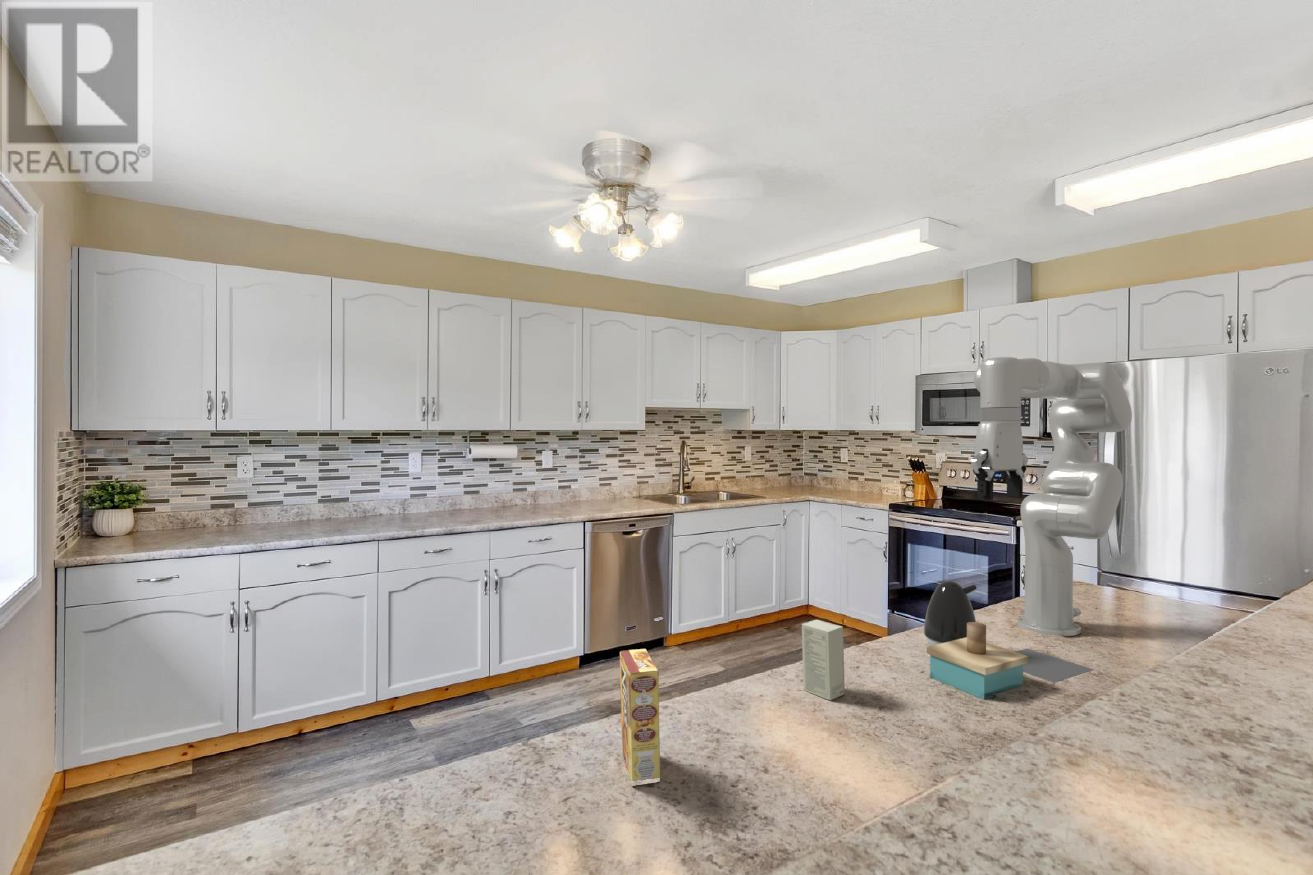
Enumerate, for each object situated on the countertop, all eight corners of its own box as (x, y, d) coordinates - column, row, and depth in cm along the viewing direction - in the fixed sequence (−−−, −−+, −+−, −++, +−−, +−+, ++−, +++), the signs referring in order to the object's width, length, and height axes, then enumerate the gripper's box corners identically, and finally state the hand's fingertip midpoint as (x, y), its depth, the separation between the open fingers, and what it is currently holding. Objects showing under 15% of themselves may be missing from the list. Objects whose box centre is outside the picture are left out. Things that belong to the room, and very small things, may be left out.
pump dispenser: (988, 662, 126) (988, 587, 126) (936, 662, 126) (936, 587, 126) (964, 645, 136) (964, 575, 136) (916, 644, 136) (916, 575, 136)
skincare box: (845, 695, 111) (845, 627, 111) (829, 701, 108) (829, 632, 108) (816, 683, 116) (816, 618, 116) (801, 689, 113) (800, 623, 113)
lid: (968, 642, 124) (968, 611, 124) (1028, 662, 114) (1028, 628, 114) (926, 653, 119) (926, 620, 119) (985, 675, 108) (985, 639, 108)
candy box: (661, 784, 84) (661, 670, 83) (630, 788, 83) (629, 673, 83) (647, 750, 92) (647, 647, 92) (619, 754, 91) (618, 650, 91)
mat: (1027, 650, 133) (1027, 648, 133) (1093, 671, 121) (1093, 669, 121) (987, 661, 127) (987, 659, 127) (1053, 684, 115) (1053, 682, 115)
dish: (968, 666, 124) (968, 644, 124) (1023, 687, 114) (1023, 662, 114) (930, 677, 119) (930, 653, 119) (984, 699, 109) (984, 673, 109)
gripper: (1008, 417, 139) (1008, 494, 139) (957, 417, 131) (956, 499, 131) (1043, 416, 132) (1042, 497, 132) (990, 416, 124) (990, 502, 124)
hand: (1000, 498), depth 132 cm, fingers open, 9 cm apart
